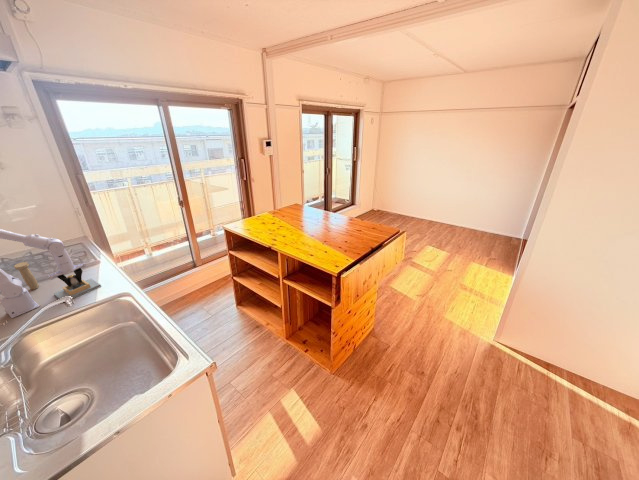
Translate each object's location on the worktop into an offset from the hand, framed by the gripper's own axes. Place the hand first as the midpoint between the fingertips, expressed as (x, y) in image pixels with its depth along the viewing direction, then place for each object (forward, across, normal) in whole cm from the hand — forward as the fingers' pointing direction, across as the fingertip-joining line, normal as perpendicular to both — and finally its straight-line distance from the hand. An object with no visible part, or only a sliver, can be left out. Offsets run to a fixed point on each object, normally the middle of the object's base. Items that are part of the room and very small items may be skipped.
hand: (75, 284), depth 133 cm
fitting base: (+4, 0, 0) cm, 4 cm away
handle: (+4, +11, -24) cm, 27 cm away
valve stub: (+2, 0, 0) cm, 2 cm away
